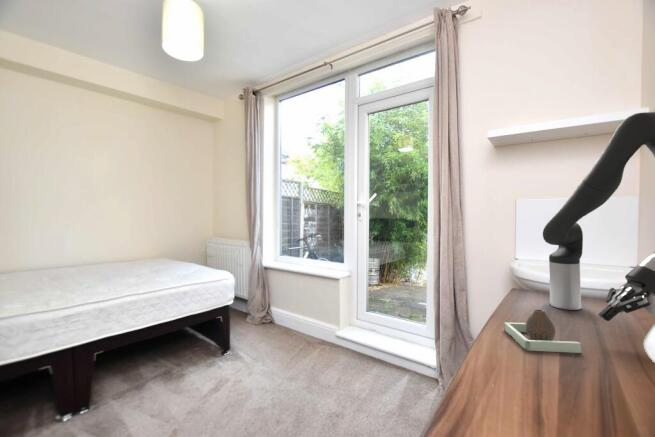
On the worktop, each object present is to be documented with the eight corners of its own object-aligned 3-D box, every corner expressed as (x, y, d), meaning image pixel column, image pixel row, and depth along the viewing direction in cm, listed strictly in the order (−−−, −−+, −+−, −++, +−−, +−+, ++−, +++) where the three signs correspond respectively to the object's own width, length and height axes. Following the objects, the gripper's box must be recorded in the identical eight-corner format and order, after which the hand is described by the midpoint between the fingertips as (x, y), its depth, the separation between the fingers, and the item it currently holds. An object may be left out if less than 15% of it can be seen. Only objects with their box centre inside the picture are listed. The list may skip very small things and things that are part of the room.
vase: (551, 337, 85) (550, 308, 85) (559, 347, 79) (558, 315, 79) (523, 334, 88) (522, 306, 88) (529, 344, 82) (528, 313, 82)
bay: (504, 330, 92) (504, 322, 92) (550, 331, 89) (550, 323, 89) (526, 350, 78) (525, 341, 78) (581, 353, 76) (580, 343, 76)
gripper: (624, 262, 86) (578, 302, 89) (660, 267, 73) (604, 314, 76) (649, 280, 84) (601, 321, 87) (690, 288, 71) (632, 336, 74)
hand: (603, 318), depth 81 cm, fingers closed
